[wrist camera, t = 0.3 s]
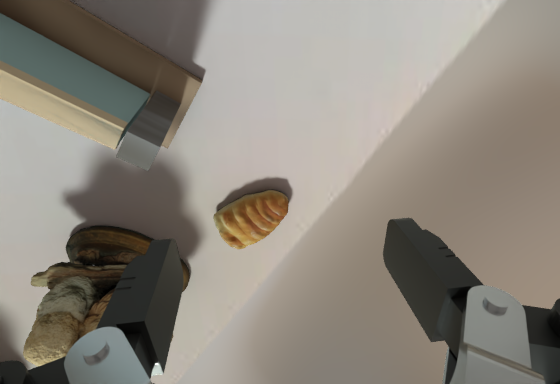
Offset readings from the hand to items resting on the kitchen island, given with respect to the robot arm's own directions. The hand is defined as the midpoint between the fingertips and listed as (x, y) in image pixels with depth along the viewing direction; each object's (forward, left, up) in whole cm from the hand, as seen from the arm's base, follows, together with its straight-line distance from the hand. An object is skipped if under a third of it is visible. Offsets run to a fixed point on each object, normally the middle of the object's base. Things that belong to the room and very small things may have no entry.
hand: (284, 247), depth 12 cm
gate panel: (+7, -15, -21) cm, 27 cm away
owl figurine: (+31, -2, -23) cm, 39 cm away
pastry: (+15, +8, -23) cm, 29 cm away
